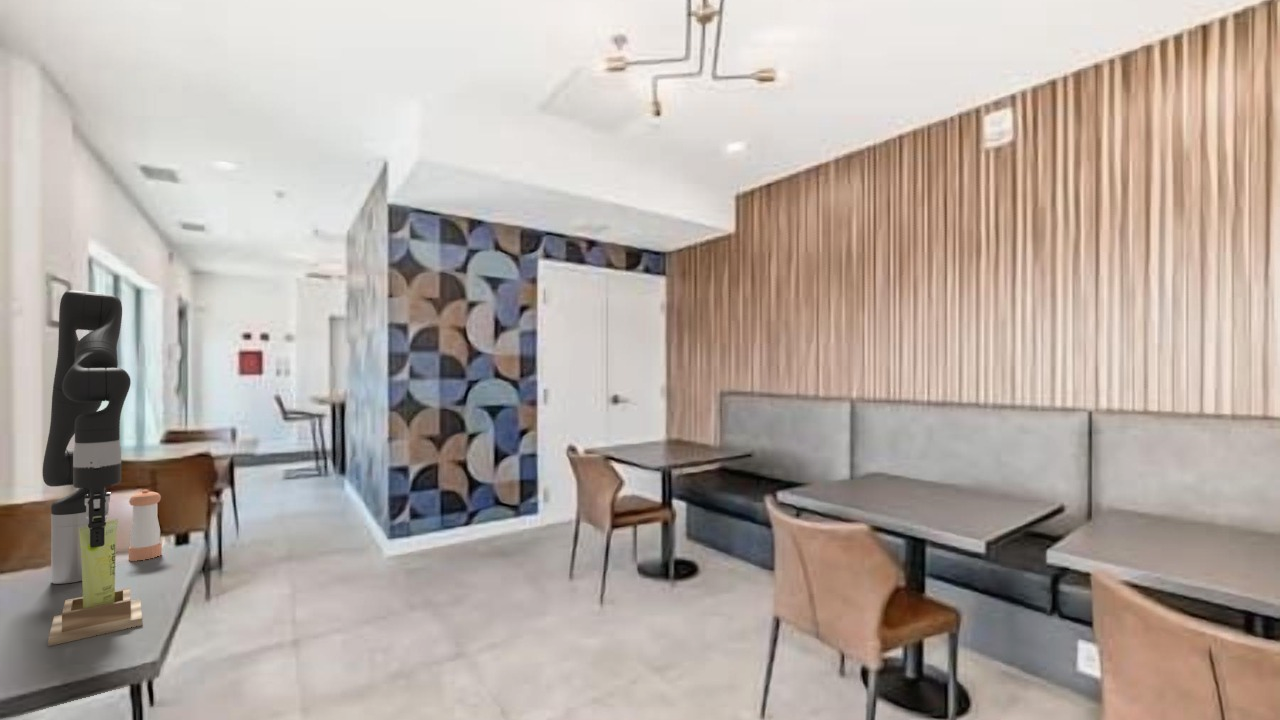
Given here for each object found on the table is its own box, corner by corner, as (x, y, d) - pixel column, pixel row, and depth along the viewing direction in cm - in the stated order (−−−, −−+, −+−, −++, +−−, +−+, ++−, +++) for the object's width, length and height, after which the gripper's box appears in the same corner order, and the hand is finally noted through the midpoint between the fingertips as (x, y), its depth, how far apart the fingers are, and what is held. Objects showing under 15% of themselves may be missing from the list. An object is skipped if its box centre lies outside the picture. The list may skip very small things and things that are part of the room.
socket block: (54, 623, 127) (54, 599, 127) (140, 605, 136) (140, 583, 136) (48, 646, 117) (48, 620, 117) (142, 625, 126) (142, 601, 126)
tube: (110, 618, 125) (110, 523, 126) (78, 623, 123) (78, 527, 124) (117, 609, 130) (117, 518, 131) (86, 614, 128) (86, 521, 128)
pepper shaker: (122, 562, 168) (122, 492, 168) (139, 554, 175) (139, 487, 175) (151, 560, 169) (151, 491, 169) (167, 552, 176) (167, 486, 176)
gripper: (75, 461, 130) (75, 539, 130) (71, 469, 119) (71, 555, 119) (121, 457, 135) (121, 532, 135) (121, 464, 124) (121, 547, 124)
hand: (97, 542), depth 127 cm, fingers open, 6 cm apart
